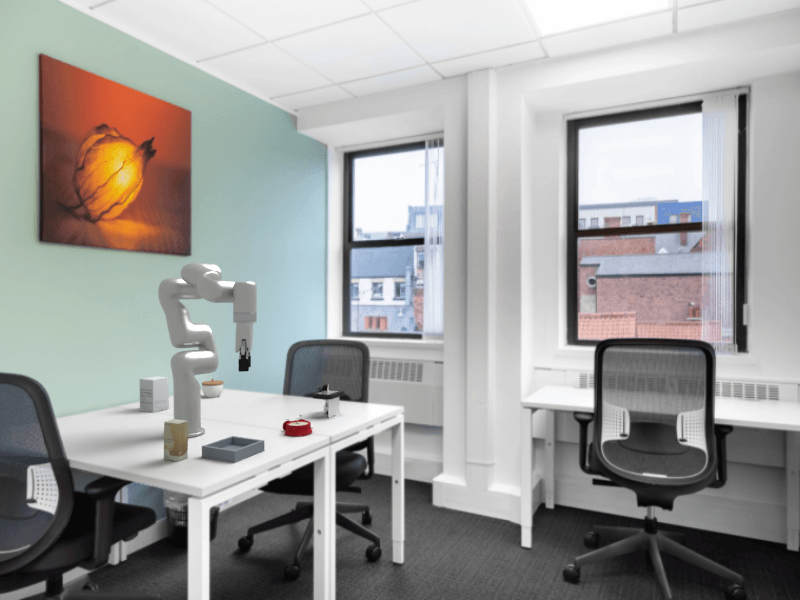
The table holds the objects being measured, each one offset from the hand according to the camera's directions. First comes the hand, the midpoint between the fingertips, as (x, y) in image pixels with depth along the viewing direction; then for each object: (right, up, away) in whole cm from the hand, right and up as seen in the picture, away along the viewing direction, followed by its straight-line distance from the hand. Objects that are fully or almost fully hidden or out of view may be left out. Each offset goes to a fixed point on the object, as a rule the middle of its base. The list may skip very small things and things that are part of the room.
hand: (244, 369), depth 176 cm
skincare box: (-20, -28, -7) cm, 35 cm away
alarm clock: (+12, -28, +26) cm, 40 cm away
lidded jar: (-46, -28, +99) cm, 113 cm away
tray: (-3, -28, -2) cm, 28 cm away
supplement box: (-61, -28, +67) cm, 95 cm away
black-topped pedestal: (+20, -28, +56) cm, 66 cm away
